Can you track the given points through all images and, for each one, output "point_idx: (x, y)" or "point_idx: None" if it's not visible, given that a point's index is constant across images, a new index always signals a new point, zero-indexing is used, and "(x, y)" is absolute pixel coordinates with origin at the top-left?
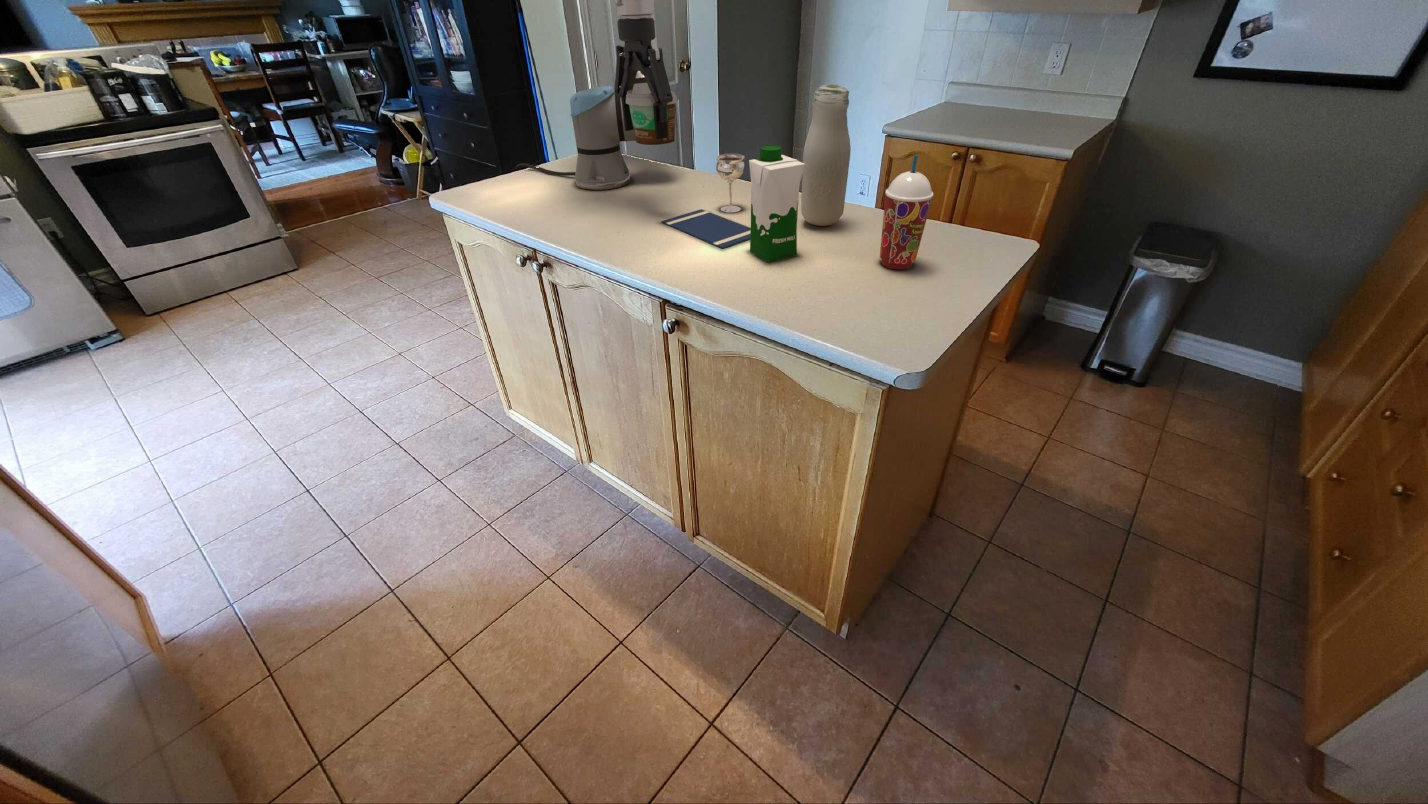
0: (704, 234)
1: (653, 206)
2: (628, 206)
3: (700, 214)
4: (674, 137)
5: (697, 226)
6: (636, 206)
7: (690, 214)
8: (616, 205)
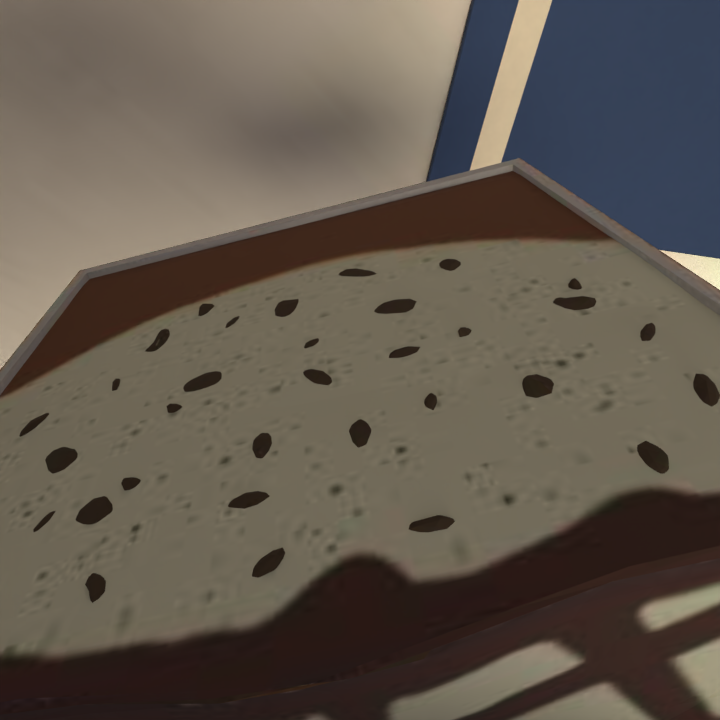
0: (685, 218)
1: (187, 45)
2: (79, 141)
3: (542, 7)
4: (537, 170)
5: (613, 164)
6: (112, 112)
7: (490, 45)
8: (14, 172)
